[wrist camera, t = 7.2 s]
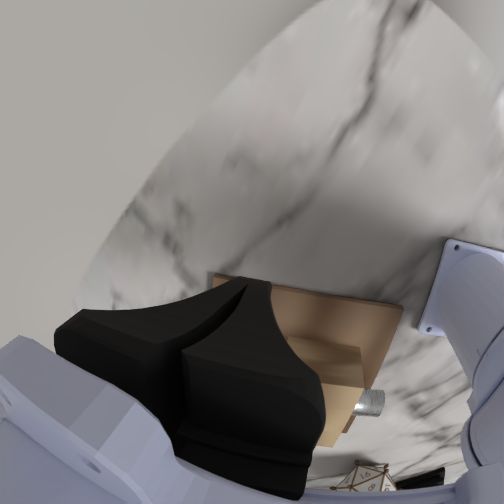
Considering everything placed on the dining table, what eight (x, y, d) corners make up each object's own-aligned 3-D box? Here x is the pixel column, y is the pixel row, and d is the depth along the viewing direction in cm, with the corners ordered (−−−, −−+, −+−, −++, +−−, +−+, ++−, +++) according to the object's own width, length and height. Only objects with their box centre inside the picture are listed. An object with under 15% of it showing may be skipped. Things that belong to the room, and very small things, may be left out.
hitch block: (401, 305, 20) (419, 346, 15) (346, 428, 25) (344, 468, 20) (215, 274, 23) (186, 306, 18) (212, 403, 28) (195, 439, 23)
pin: (385, 370, 21) (391, 405, 17) (369, 401, 22) (372, 435, 18) (272, 353, 23) (261, 388, 19) (266, 386, 24) (255, 420, 20)
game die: (353, 450, 31) (305, 497, 26) (385, 438, 26) (332, 498, 20) (389, 482, 27) (346, 530, 22) (426, 475, 21) (379, 535, 16)
